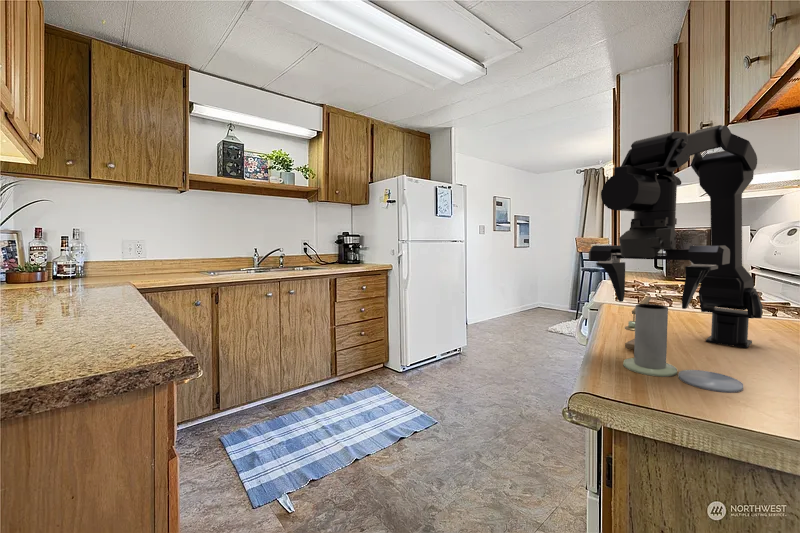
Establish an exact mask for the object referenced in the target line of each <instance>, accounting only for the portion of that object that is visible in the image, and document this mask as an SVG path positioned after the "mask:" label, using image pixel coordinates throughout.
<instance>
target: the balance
mask: <svg viewBox="0 0 800 533" xmlns="http://www.w3.org/2000/svg"><path fill="white" fill-rule="evenodd" d="M651 297H652V296H649V295H647V296H646V297H644V298H643V299H642V300H641V301H640V302H639V303H638V304H650V301H651V300H652V299H651ZM635 311H636V306H635V308H633V309H632V310H631V314H633V316H632V320H629V321H627V322H628V325H625V326H624V330H626V331H630V332H635ZM634 346H635V338H633V339H630V340H629V341H626V342H624V349H628V348H629V350H633V351H634Z"/></svg>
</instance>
